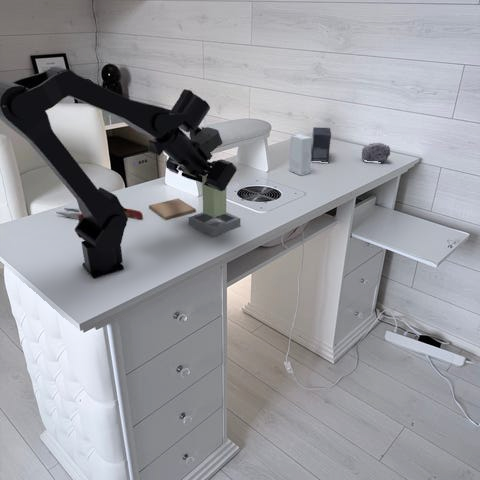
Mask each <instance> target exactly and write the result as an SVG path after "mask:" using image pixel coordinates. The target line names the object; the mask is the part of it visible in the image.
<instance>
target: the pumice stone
mask: <svg viewBox="0 0 480 480" xmlns="http://www.w3.org/2000/svg"><path fill="white" fill-rule="evenodd" d="M390 155H391V148H390V146H389V145H387V144H385V143H382V142H373V143H372V142H371V143H369V144H368V145H364V146H363V148H362V150H361V159H362V160H363V159H364V160H367V161H378V162H382V163H383V162H384V161H386V160H388V158H389V156H390Z"/></svg>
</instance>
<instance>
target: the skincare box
mask: <svg viewBox="0 0 480 480" xmlns="http://www.w3.org/2000/svg"><path fill="white" fill-rule="evenodd" d="M289 145H290V146H289V147H290V148H289V164H288V165H289V168H288V170H289V172H292V173H293V172H294V174H296V175H298V176H306V175H305V174H307V175H309V174H310V172H311V145H312V136H311V137H310V136H308V135H305V134H300V133H298V134H294V135H293V134H291V135H290V143H289ZM308 173H309V174H308Z"/></svg>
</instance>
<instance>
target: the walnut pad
mask: <svg viewBox="0 0 480 480" xmlns="http://www.w3.org/2000/svg"><path fill="white" fill-rule="evenodd" d="M148 209H149V210H151V211H152V212H154V213H155V214H156V215H158V216H159V217H161V218H162V219H163V220H165V221H167V220H170V219H175V218H177V217H182V216H185V215H189V214H193V213H197V210H196V208H195V207H193V206H192V205H190V204H188V203H187V202H185V201H183V200H182V199H181V198H174V199H170V200H166V201H162V202H158V203H153V204H149V205H148Z"/></svg>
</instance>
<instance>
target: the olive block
mask: <svg viewBox="0 0 480 480" xmlns="http://www.w3.org/2000/svg"><path fill="white" fill-rule="evenodd" d="M206 177H207V175H206V176H205V177H204V176H202V182H203V183H202V212H203V213H205V214H207V215H209V216H211V217H214V218H217V216H220V215H223V214H225V213H226V212H227V188H226V189H225V190H223V191H219V190H217V189H214V188H211V187H208V186H206V185H204V184H205V182H206ZM214 218H213V219H214Z"/></svg>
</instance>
